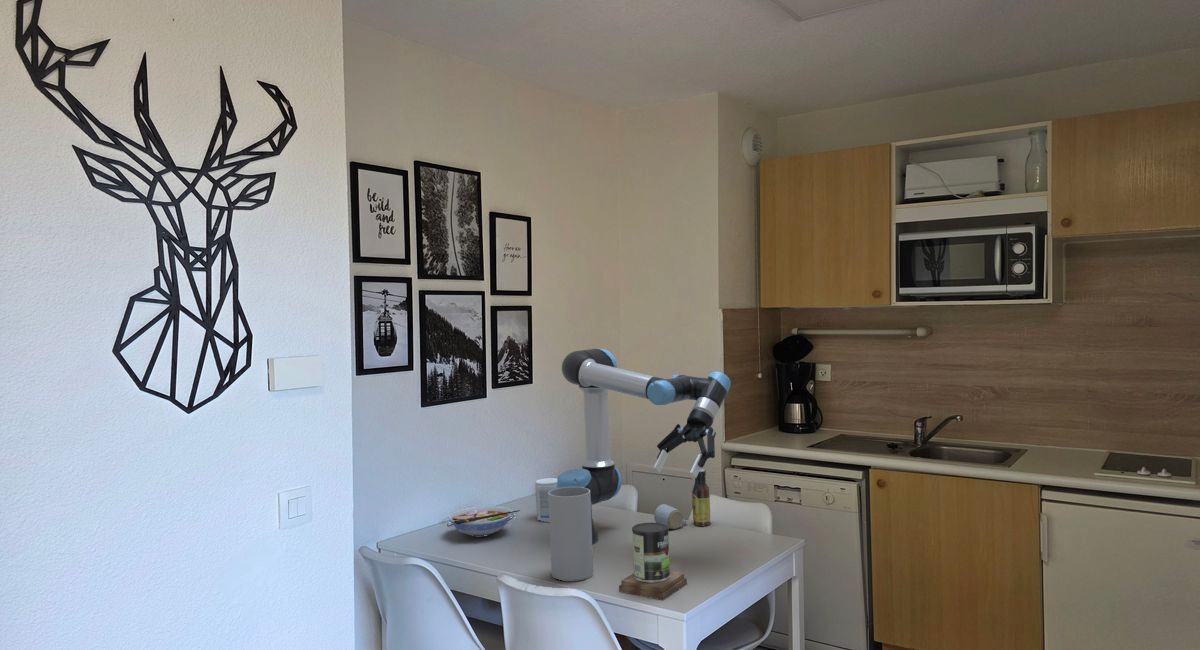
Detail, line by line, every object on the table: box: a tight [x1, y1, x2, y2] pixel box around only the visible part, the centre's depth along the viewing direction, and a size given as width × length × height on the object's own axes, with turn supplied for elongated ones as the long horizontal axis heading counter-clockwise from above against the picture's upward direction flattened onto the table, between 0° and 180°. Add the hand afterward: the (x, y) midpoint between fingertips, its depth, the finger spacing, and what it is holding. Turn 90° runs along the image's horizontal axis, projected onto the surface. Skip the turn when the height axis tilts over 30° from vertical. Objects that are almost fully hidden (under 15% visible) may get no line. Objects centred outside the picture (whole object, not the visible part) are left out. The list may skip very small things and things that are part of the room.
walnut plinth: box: [618, 570, 688, 601], centre depth 221 cm, size 14×14×3 cm
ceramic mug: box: [653, 503, 687, 530], centre depth 281 cm, size 11×8×8 cm
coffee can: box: [631, 522, 671, 583], centre depth 221 cm, size 10×10×14 cm
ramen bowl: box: [448, 505, 521, 537], centre depth 281 cm, size 25×23×8 cm
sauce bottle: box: [691, 468, 711, 527], centre depth 282 cm, size 6×6×20 cm
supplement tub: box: [534, 477, 557, 522], centre depth 298 cm, size 10×10×15 cm
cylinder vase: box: [548, 487, 594, 582], centre depth 234 cm, size 12×12×25 cm
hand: (674, 472), depth 233 cm, fingers open, 13 cm apart
